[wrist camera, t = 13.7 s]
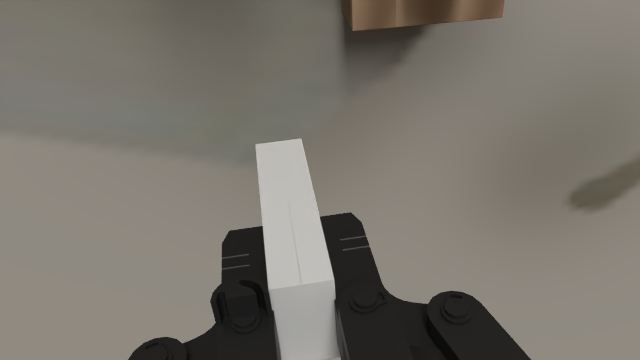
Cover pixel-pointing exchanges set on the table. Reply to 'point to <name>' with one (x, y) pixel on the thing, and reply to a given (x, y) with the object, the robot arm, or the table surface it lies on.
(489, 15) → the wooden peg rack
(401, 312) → the robot arm
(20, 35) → the table surface
